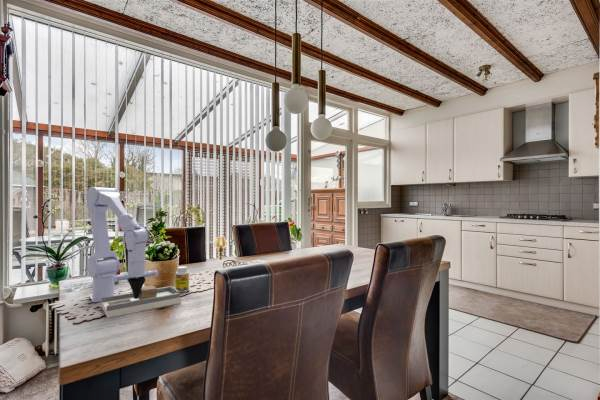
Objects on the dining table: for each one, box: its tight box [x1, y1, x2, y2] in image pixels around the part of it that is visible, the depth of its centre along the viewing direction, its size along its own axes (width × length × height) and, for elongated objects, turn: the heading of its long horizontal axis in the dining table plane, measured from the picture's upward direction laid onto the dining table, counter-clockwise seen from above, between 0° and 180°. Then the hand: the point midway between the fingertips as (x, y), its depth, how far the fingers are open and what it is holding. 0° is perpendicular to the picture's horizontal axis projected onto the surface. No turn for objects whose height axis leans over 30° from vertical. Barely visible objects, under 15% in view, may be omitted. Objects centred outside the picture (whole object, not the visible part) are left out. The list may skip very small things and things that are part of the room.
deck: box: [100, 285, 182, 319], centre depth 114 cm, size 14×24×4 cm, turn 130°
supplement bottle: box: [174, 265, 190, 293], centre depth 133 cm, size 6×6×10 cm
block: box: [139, 285, 157, 300], centre depth 115 cm, size 5×5×4 cm
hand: (136, 297), depth 113 cm, fingers closed
